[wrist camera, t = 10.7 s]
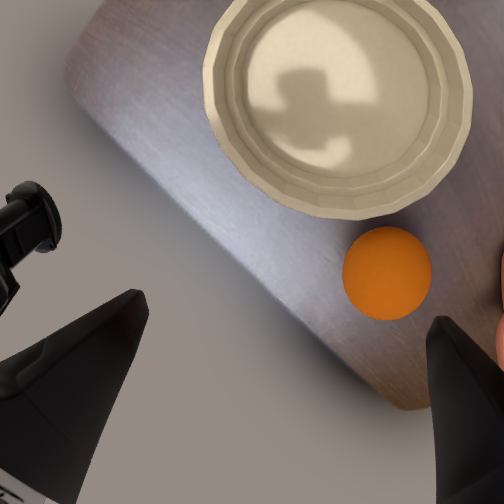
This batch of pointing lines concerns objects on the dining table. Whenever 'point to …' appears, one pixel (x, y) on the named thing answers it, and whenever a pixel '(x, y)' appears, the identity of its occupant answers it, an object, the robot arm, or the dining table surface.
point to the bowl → (338, 101)
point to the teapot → (501, 325)
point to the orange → (387, 273)
